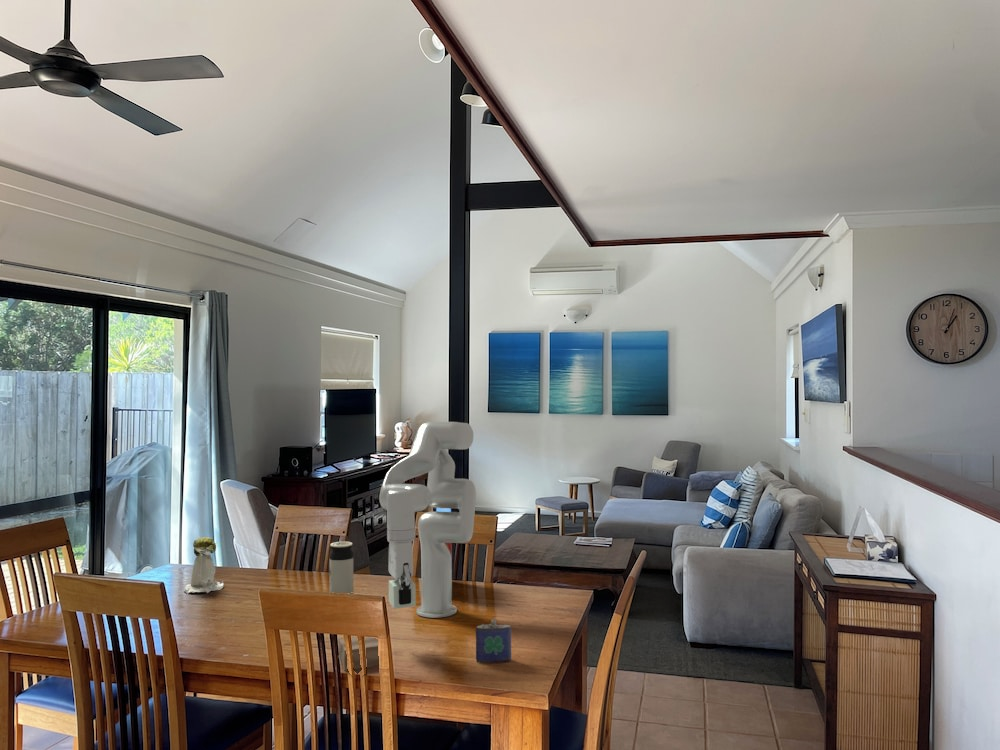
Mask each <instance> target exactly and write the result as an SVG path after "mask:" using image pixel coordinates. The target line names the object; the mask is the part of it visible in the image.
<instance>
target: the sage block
mask: <svg viewBox="0 0 1000 750" xmlns="http://www.w3.org/2000/svg"><path fill="white" fill-rule="evenodd" d="M404 581H405V580H402V584H403V582H404ZM399 590H400V583H399V579H398V580H393V579H391V580H390V579H389V580H388V603H389V604H390V606H391V607H392V609H394V610H396V609H397V610H398V609H402V608H411V607H416V605H417V604H416V603H417V602H416V600H417V599H416V595H417V594H416V583H415V581H413V579H411V603H410V604H403V605H400V604H399Z"/></svg>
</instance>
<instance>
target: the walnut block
mask: <svg viewBox="0 0 1000 750" xmlns="http://www.w3.org/2000/svg"><path fill="white" fill-rule="evenodd" d="M354 636H355V635H353V636H351V637H352V653H353V663H354V669H353V670H359V669H362V668H361V665H360V654H359V645H358V638H357V637H354ZM344 638H345V637H338V640H337V641H338V643H337V645H338V644H339V655H338V659H340V660H339V661H340V663H341V665H342V668H343V670H344V671H348V670H347V654H346V647H345V642H344ZM365 645H366V659H367V668H373V667H380V666H379V656H378V640H377V639H376V638H371V637H366V638H365Z"/></svg>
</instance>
